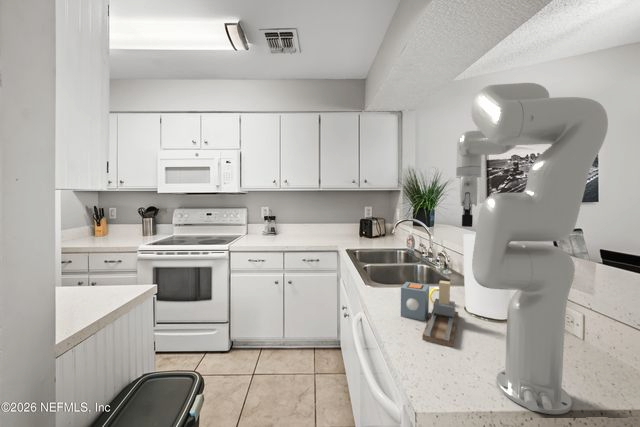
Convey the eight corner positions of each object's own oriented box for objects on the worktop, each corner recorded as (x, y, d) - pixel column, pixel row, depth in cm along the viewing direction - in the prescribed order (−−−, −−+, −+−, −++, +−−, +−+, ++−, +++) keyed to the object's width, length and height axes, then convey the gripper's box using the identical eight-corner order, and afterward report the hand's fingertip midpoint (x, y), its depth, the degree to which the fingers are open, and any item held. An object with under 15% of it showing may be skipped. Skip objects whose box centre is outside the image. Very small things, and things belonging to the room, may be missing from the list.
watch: (431, 304, 109) (430, 289, 109) (428, 302, 112) (427, 287, 112) (446, 303, 109) (446, 288, 109) (443, 301, 112) (443, 286, 112)
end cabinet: (424, 321, 94) (425, 291, 93) (400, 316, 98) (400, 288, 97) (428, 312, 101) (429, 284, 101) (405, 308, 105) (406, 281, 105)
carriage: (453, 316, 90) (453, 286, 90) (433, 313, 93) (433, 283, 93) (454, 310, 96) (455, 281, 95) (435, 306, 99) (436, 278, 98)
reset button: (420, 297, 97) (420, 288, 96) (408, 295, 99) (408, 286, 98) (422, 293, 100) (422, 285, 100) (410, 291, 102) (410, 283, 102)
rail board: (452, 346, 78) (453, 337, 78) (422, 339, 82) (422, 330, 82) (458, 316, 98) (458, 308, 98) (433, 311, 102) (433, 304, 102)
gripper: (481, 170, 88) (479, 229, 89) (480, 174, 101) (479, 225, 102) (454, 172, 92) (453, 228, 93) (457, 175, 105) (456, 224, 106)
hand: (467, 226), depth 98 cm, fingers closed
